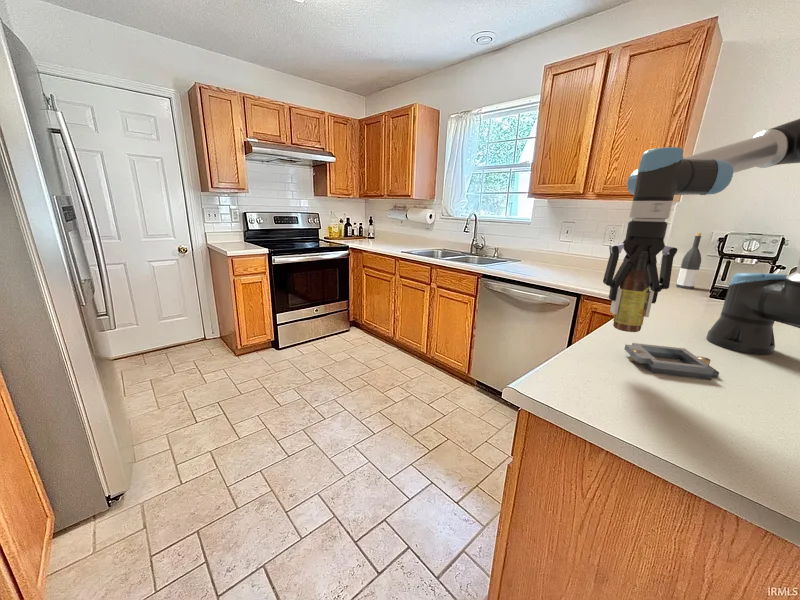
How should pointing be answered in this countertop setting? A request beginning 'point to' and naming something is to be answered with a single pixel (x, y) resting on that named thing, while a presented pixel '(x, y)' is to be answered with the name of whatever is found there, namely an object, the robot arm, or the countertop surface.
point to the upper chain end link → (642, 356)
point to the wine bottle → (690, 266)
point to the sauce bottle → (633, 296)
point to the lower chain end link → (679, 373)
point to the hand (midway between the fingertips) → (628, 314)
